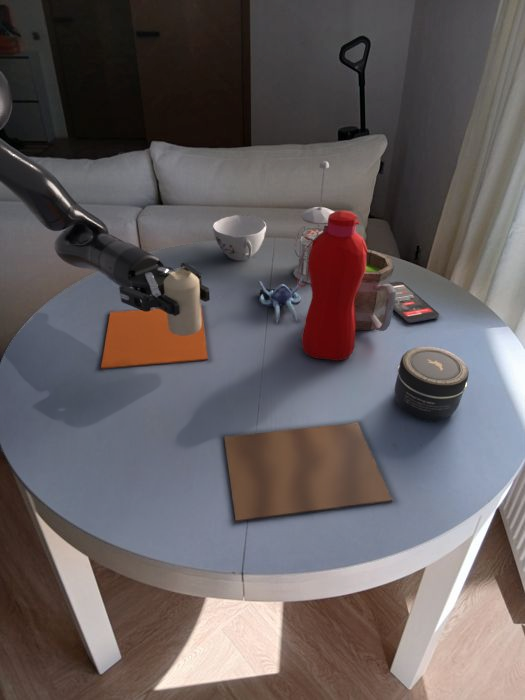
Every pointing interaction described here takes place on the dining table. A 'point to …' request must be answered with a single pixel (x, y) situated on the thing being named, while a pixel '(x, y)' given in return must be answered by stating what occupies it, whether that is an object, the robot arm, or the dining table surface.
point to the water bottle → (334, 288)
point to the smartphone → (411, 304)
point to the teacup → (239, 235)
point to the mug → (375, 294)
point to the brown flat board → (302, 471)
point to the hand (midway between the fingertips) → (193, 302)
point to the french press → (311, 232)
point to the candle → (184, 302)
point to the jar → (430, 383)
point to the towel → (148, 340)
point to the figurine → (280, 298)
